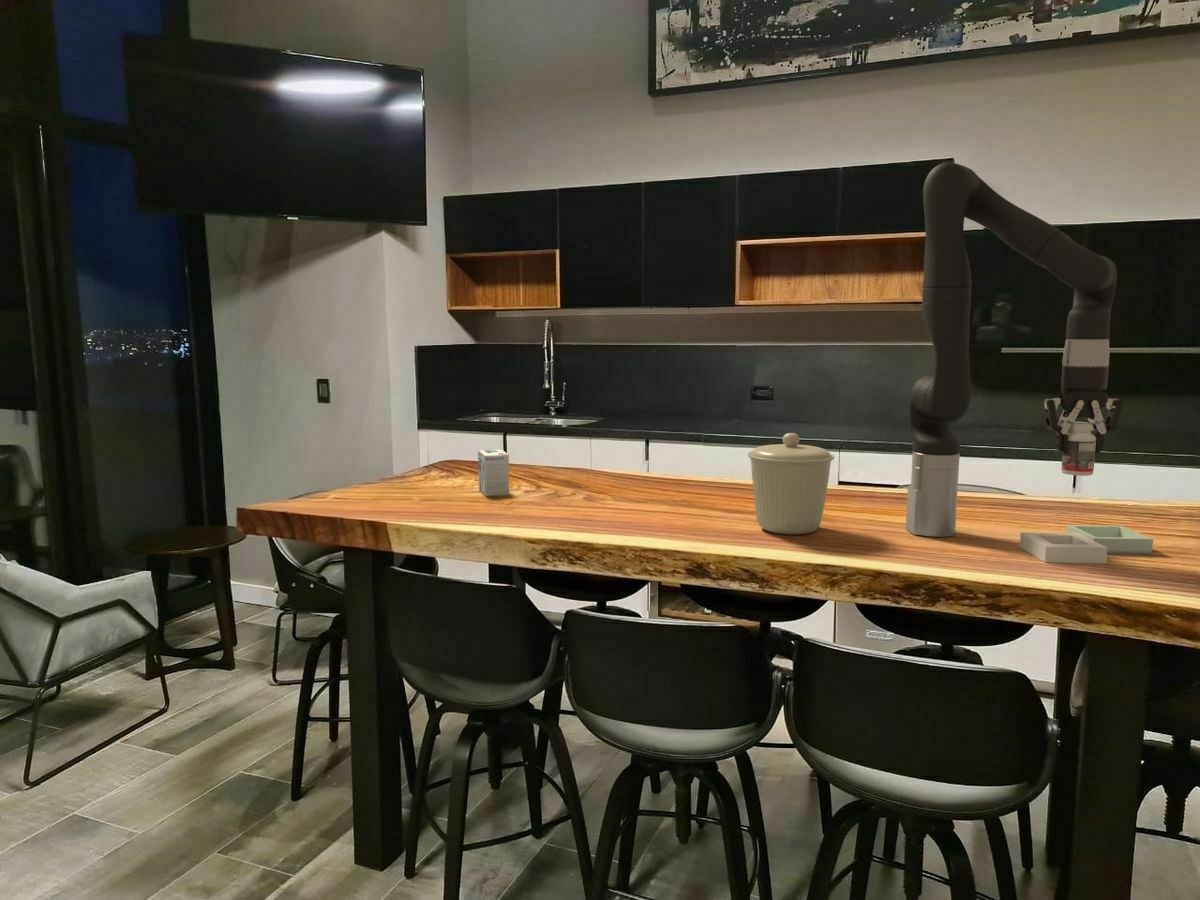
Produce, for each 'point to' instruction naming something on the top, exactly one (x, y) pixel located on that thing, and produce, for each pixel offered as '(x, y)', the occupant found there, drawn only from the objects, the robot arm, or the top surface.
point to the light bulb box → (493, 472)
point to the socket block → (1063, 547)
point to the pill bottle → (1079, 450)
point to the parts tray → (1115, 538)
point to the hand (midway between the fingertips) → (1078, 452)
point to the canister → (790, 485)
